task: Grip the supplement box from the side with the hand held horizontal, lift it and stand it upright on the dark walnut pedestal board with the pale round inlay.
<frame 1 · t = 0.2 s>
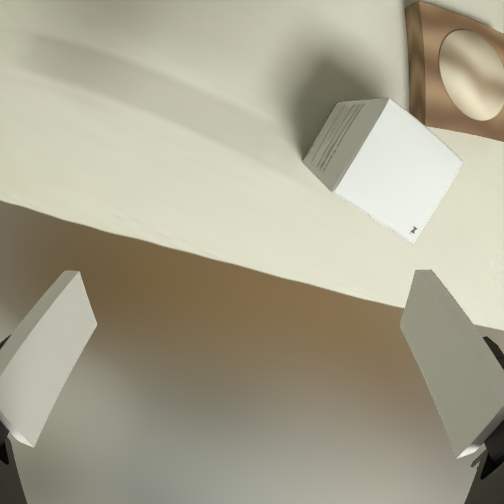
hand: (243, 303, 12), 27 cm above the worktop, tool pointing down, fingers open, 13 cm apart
pedestal: (457, 75, 30), on the worktop
supplement box: (349, 150, 35), on the worktop
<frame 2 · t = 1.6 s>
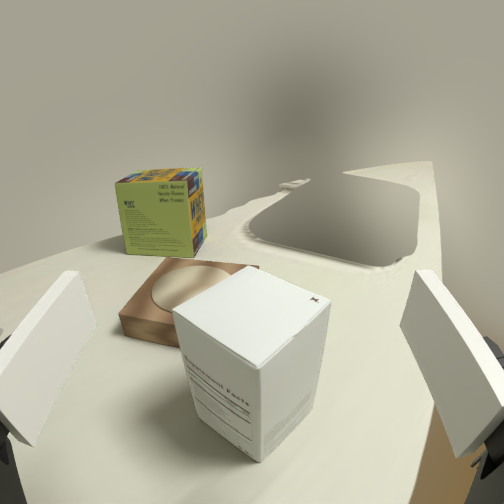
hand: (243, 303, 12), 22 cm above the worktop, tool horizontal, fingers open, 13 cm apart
pedestal: (196, 310, 46), on the worktop
protein box: (167, 245, 66), on the worktop
supplement box: (254, 415, 30), on the worktop
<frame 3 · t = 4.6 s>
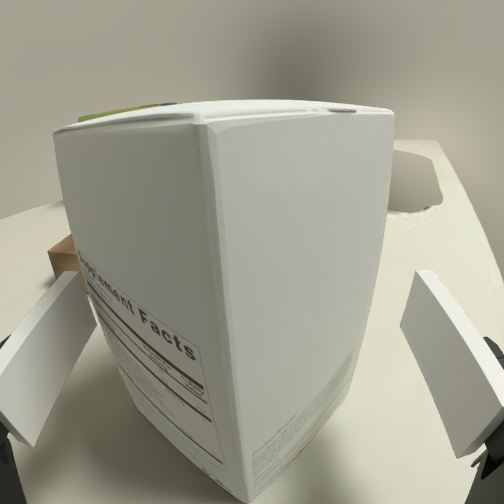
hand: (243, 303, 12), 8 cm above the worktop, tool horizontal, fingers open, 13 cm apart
pedestal: (161, 255, 32), on the worktop
protein box: (140, 197, 52), on the worktop
supplement box: (239, 408, 16), on the worktop, touching gripper
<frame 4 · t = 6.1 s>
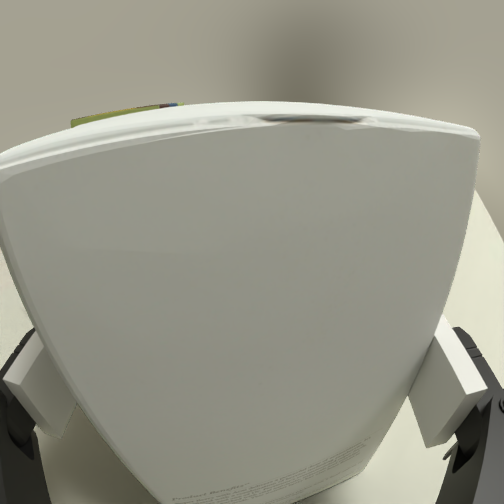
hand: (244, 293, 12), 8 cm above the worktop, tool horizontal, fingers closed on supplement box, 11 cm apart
protein box: (138, 205, 49), on the worktop
supplement box: (247, 440, 14), on the worktop, touching gripper
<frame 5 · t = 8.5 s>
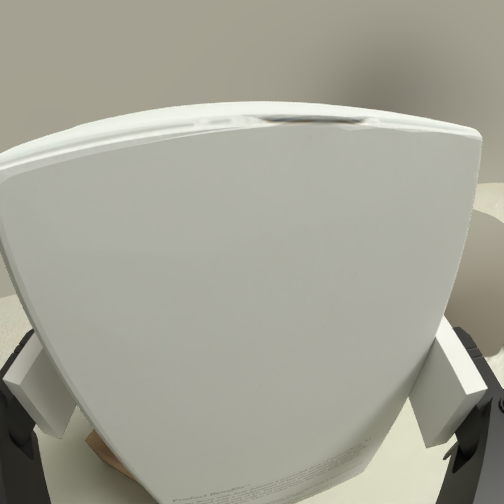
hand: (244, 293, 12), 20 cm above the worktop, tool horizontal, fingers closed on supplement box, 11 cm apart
pedestal: (214, 435, 26), on the worktop
supplement box: (248, 440, 14), point 12 cm above the worktop, touching gripper
when the fingers open (13 cm above the worktop, at t = 11.3 s): supplement box stays where it is, resting on pedestal.
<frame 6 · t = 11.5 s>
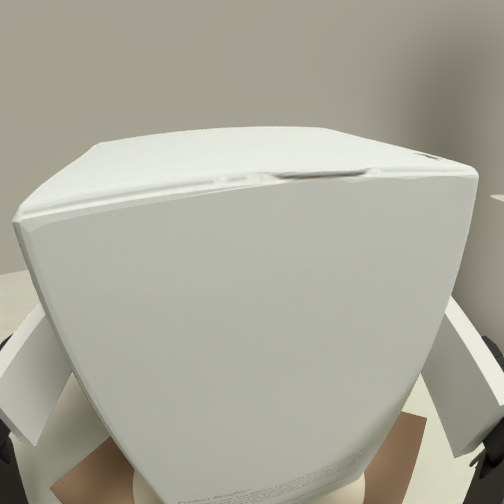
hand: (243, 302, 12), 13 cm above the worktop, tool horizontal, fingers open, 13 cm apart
pedestal: (249, 500, 15), on the worktop
supplement box: (248, 447, 15), point 4 cm above the worktop, touching pedestal
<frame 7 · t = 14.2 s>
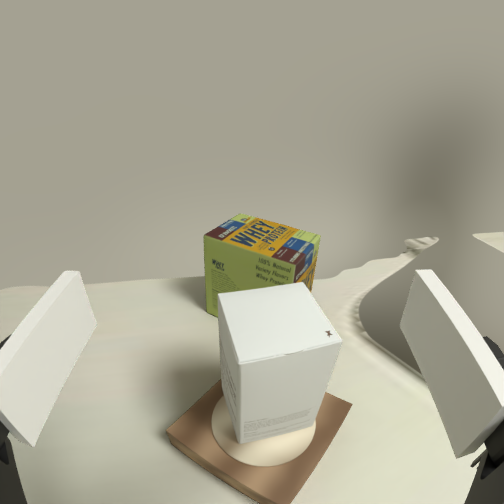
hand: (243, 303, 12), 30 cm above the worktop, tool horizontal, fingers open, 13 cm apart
pedestal: (261, 436, 35), on the worktop
protein box: (258, 313, 56), on the worktop
supplement box: (264, 407, 34), point 4 cm above the worktop, touching pedestal
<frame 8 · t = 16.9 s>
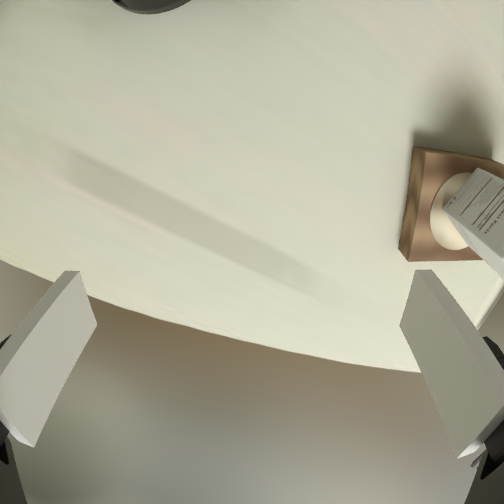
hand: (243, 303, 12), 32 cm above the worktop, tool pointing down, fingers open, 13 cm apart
pedestal: (449, 202, 42), on the worktop
supplement box: (472, 206, 37), point 4 cm above the worktop, touching pedestal
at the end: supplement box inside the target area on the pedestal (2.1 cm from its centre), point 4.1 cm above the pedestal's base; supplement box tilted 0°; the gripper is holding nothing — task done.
